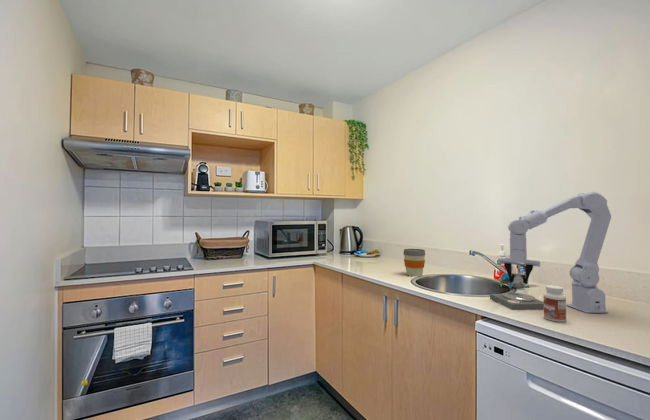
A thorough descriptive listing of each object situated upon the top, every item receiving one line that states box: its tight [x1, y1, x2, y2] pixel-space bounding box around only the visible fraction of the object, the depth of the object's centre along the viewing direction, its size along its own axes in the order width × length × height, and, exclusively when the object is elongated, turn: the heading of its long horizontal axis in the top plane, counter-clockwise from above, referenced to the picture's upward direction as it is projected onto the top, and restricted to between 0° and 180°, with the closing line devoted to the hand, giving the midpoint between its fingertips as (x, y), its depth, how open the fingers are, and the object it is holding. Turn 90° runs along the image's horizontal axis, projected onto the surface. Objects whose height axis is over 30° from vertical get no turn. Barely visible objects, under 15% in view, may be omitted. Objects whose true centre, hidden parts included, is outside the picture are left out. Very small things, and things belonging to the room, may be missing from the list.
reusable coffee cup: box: [403, 248, 426, 277], centre depth 179 cm, size 13×13×15 cm
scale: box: [489, 292, 544, 311], centre depth 121 cm, size 15×14×3 cm
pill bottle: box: [543, 284, 567, 323], centre depth 103 cm, size 6×6×11 cm
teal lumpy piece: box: [498, 273, 513, 290], centre depth 147 cm, size 11×6×10 cm
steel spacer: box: [511, 272, 526, 289], centre depth 123 cm, size 5×5×5 cm
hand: (518, 282), depth 122 cm, fingers closed on steel spacer, 5 cm apart
